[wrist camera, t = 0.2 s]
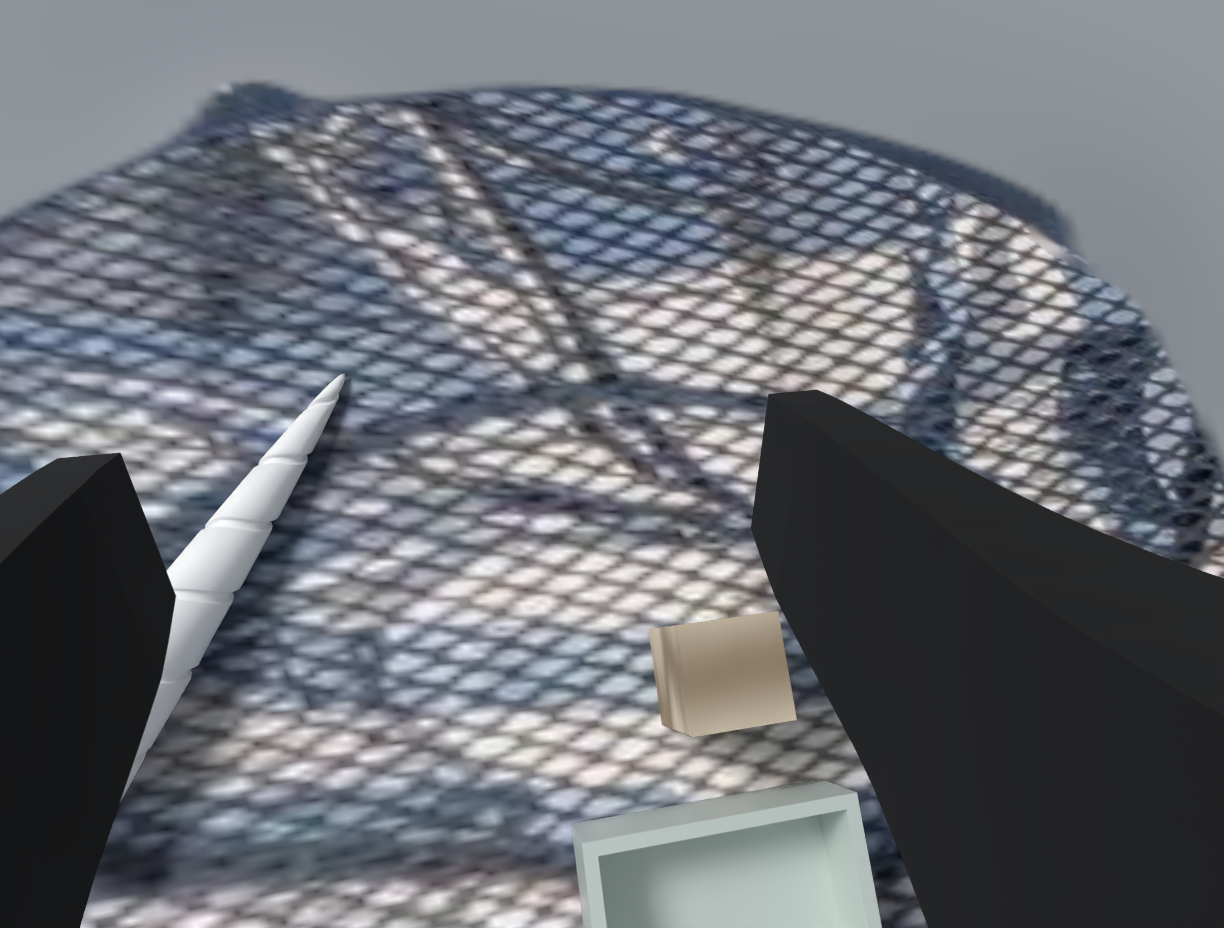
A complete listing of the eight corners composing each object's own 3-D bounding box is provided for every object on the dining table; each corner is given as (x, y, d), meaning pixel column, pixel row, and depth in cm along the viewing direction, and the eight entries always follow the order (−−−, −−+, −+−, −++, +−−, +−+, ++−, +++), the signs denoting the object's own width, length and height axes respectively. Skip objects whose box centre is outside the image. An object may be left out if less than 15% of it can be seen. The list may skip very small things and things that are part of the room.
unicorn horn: (411, 416, 41) (401, 386, 37) (92, 874, 35) (31, 908, 30) (329, 366, 41) (309, 330, 37) (-5, 816, 35) (-81, 841, 30)
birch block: (751, 710, 41) (796, 719, 35) (661, 724, 40) (693, 737, 34) (736, 616, 41) (778, 611, 36) (648, 629, 41) (676, 625, 35)
